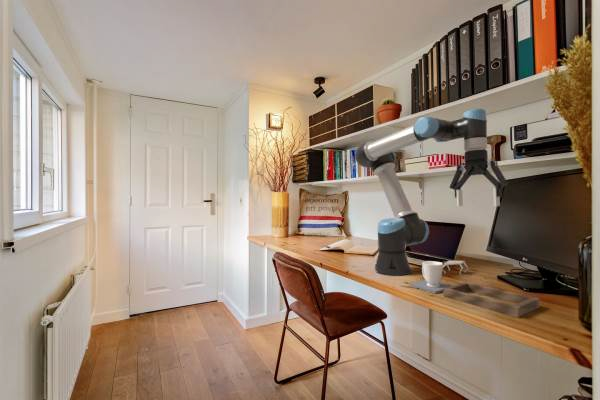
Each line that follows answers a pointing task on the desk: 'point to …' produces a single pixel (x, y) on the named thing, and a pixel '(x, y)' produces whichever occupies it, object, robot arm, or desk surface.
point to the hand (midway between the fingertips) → (477, 206)
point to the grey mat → (424, 286)
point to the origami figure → (455, 264)
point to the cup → (432, 272)
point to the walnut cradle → (522, 308)
